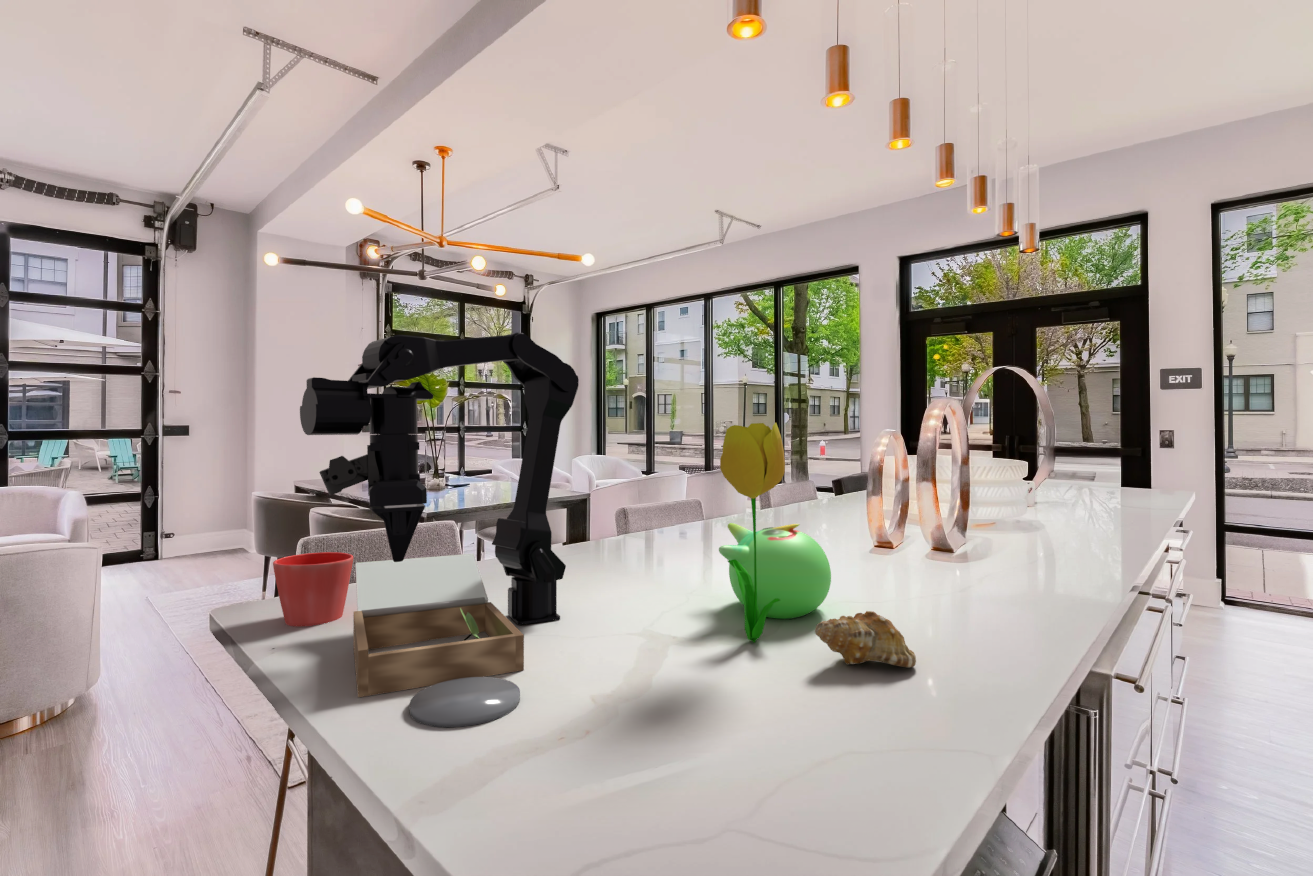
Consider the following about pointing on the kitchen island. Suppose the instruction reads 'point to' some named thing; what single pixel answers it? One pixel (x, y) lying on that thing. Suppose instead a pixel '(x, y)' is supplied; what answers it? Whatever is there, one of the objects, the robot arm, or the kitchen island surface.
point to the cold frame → (433, 648)
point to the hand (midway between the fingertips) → (396, 555)
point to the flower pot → (313, 586)
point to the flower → (752, 497)
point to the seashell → (866, 639)
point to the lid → (418, 585)
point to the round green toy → (781, 569)
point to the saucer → (464, 701)
